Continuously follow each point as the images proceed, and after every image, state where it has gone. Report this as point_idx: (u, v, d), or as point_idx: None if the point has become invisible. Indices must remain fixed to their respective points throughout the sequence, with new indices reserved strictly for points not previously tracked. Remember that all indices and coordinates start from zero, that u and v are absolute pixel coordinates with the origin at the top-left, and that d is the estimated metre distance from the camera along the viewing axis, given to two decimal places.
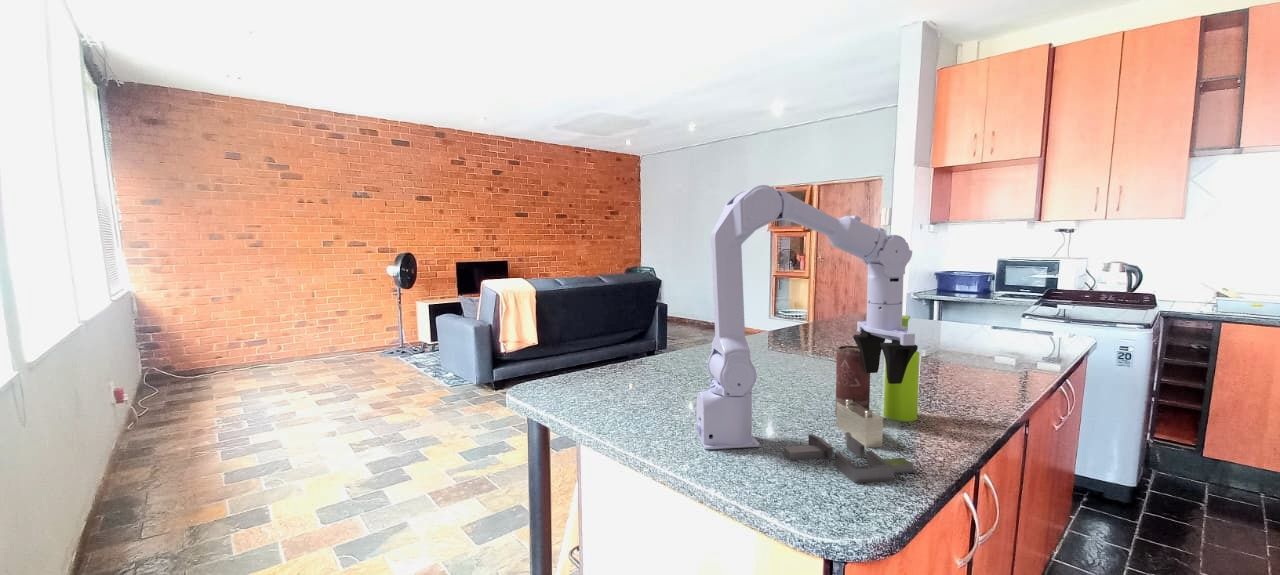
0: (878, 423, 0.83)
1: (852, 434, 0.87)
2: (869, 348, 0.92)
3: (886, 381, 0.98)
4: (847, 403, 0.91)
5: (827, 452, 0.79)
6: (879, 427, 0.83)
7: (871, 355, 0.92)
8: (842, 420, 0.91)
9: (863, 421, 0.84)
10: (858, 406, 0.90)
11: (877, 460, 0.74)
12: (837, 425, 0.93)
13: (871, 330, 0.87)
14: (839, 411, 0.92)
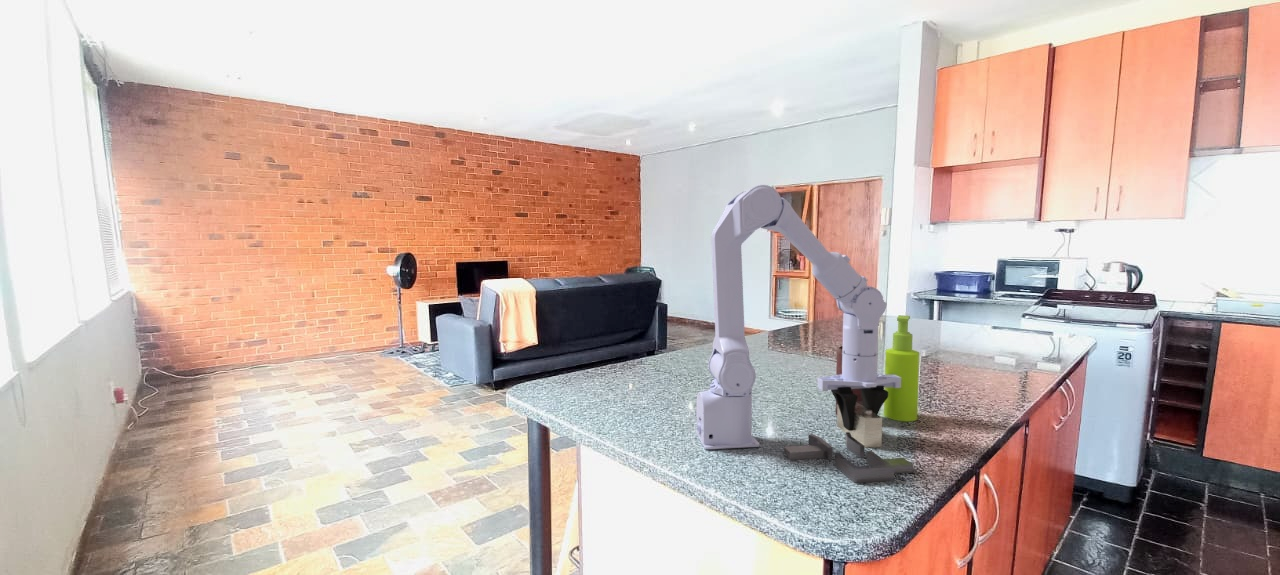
0: (877, 422, 0.83)
1: (852, 433, 0.88)
2: (866, 401, 0.89)
3: None
4: None
5: (827, 452, 0.79)
6: (878, 426, 0.83)
7: None
8: None
9: (862, 420, 0.84)
10: (858, 405, 0.90)
11: (877, 460, 0.74)
12: (838, 424, 0.93)
13: None
14: None
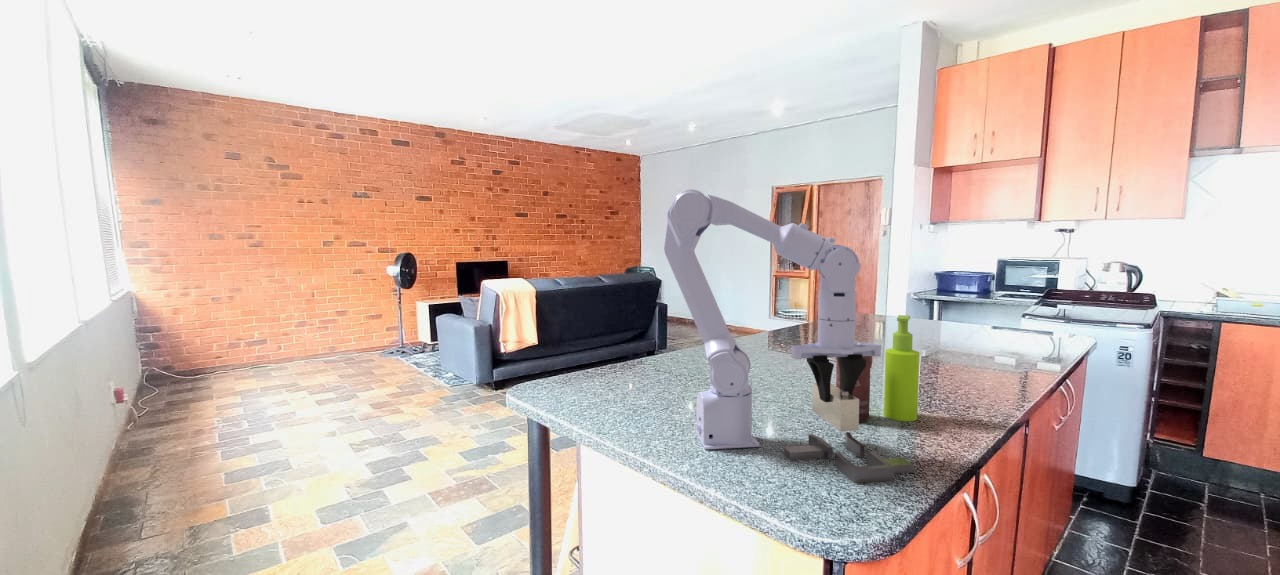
0: (854, 404, 0.78)
1: (827, 417, 0.82)
2: (843, 371, 0.83)
3: (886, 381, 0.98)
4: None
5: (827, 452, 0.79)
6: (855, 408, 0.78)
7: (844, 379, 0.82)
8: (818, 402, 0.85)
9: (838, 402, 0.78)
10: (834, 387, 0.84)
11: (877, 460, 0.74)
12: (813, 408, 0.87)
13: None
14: (815, 393, 0.86)
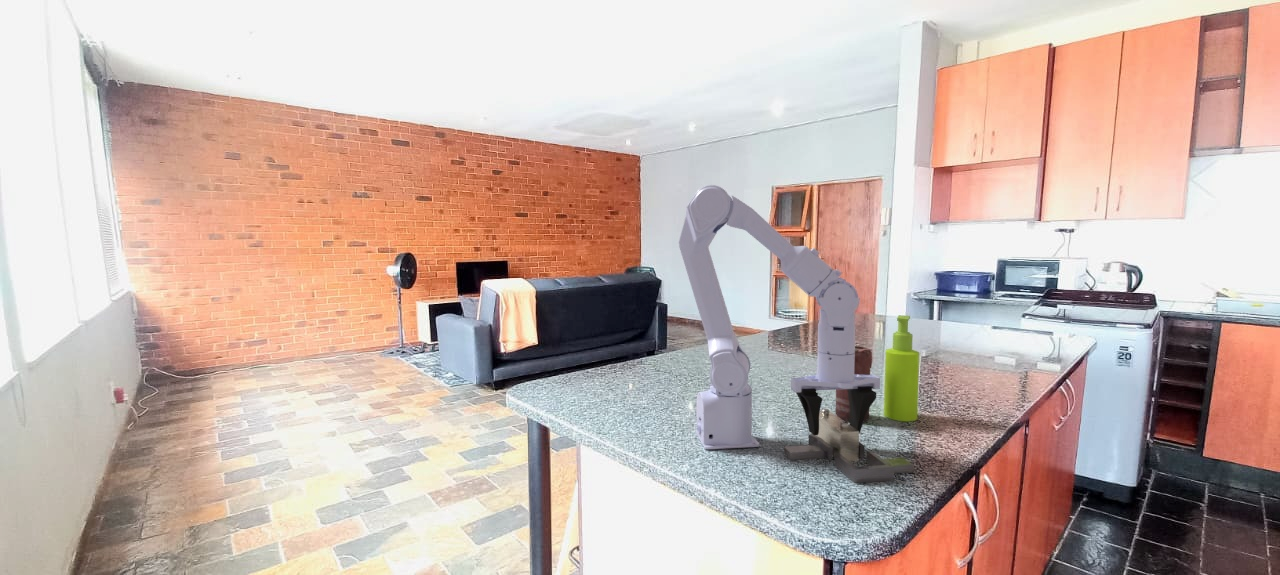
0: (854, 436, 0.78)
1: None
2: (853, 403, 0.83)
3: (886, 381, 0.98)
4: (823, 413, 0.85)
5: (827, 452, 0.79)
6: (855, 440, 0.78)
7: (854, 411, 0.83)
8: None
9: (838, 434, 0.78)
10: (834, 417, 0.84)
11: (877, 460, 0.74)
12: None
13: None
14: None
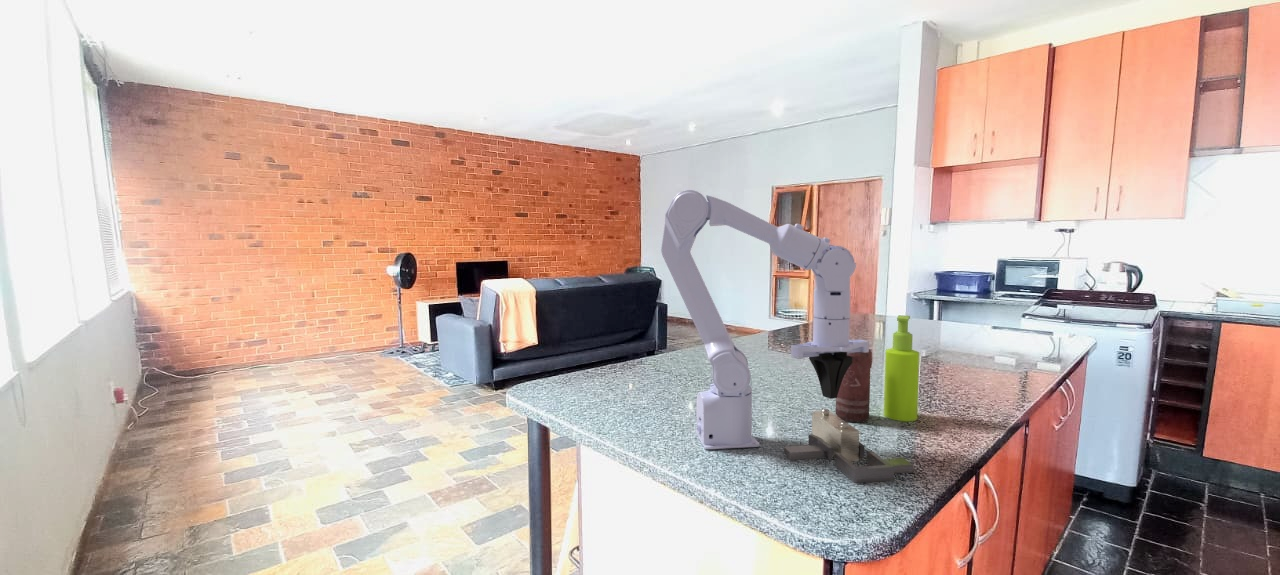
0: (854, 436, 0.78)
1: None
2: None
3: (886, 381, 0.98)
4: (823, 413, 0.85)
5: (827, 452, 0.79)
6: (855, 440, 0.78)
7: None
8: (818, 431, 0.85)
9: (838, 434, 0.78)
10: (834, 417, 0.84)
11: (877, 460, 0.74)
12: None
13: None
14: (815, 422, 0.86)
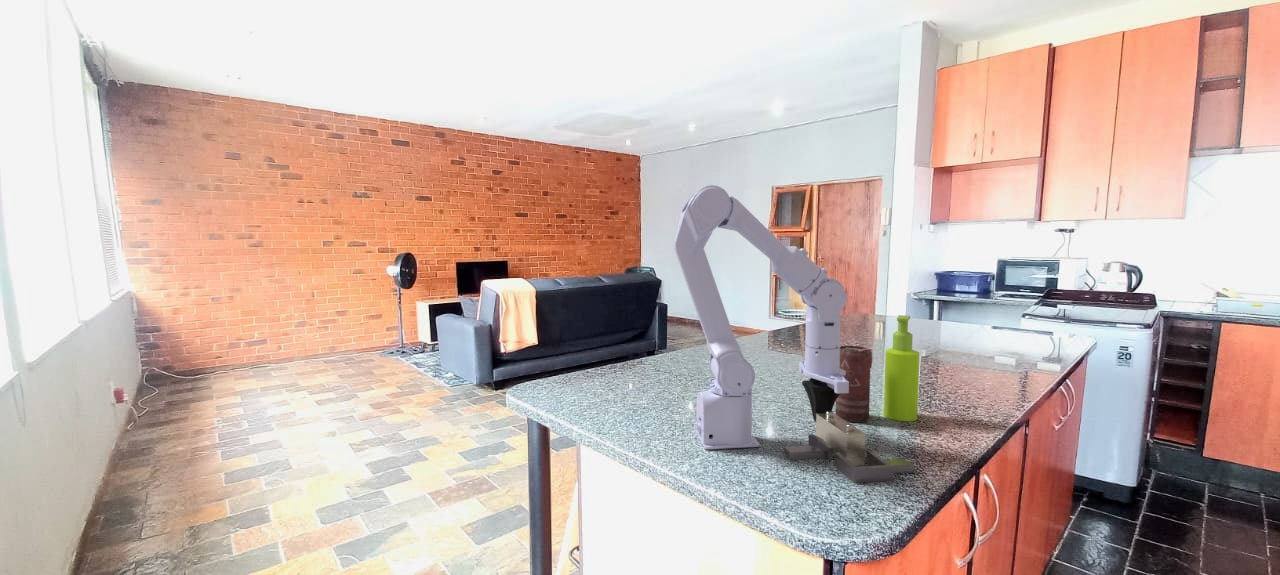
0: (860, 439, 0.76)
1: None
2: None
3: (886, 381, 0.98)
4: (827, 416, 0.84)
5: (827, 452, 0.79)
6: (861, 443, 0.76)
7: None
8: (822, 434, 0.84)
9: (844, 436, 0.77)
10: (839, 419, 0.83)
11: (877, 460, 0.74)
12: None
13: (808, 374, 0.85)
14: (819, 424, 0.85)
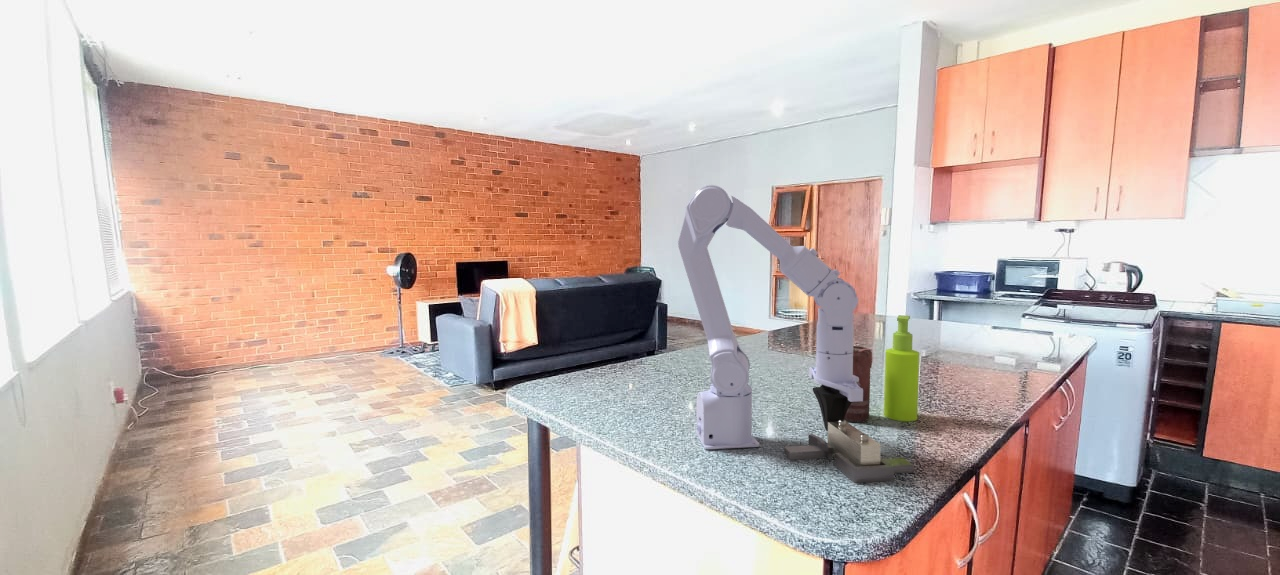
0: (875, 450, 0.72)
1: None
2: None
3: (886, 381, 0.98)
4: (840, 424, 0.80)
5: (827, 452, 0.79)
6: (876, 454, 0.72)
7: None
8: (834, 444, 0.80)
9: (858, 447, 0.72)
10: (852, 428, 0.78)
11: None
12: None
13: (820, 381, 0.81)
14: (831, 433, 0.81)
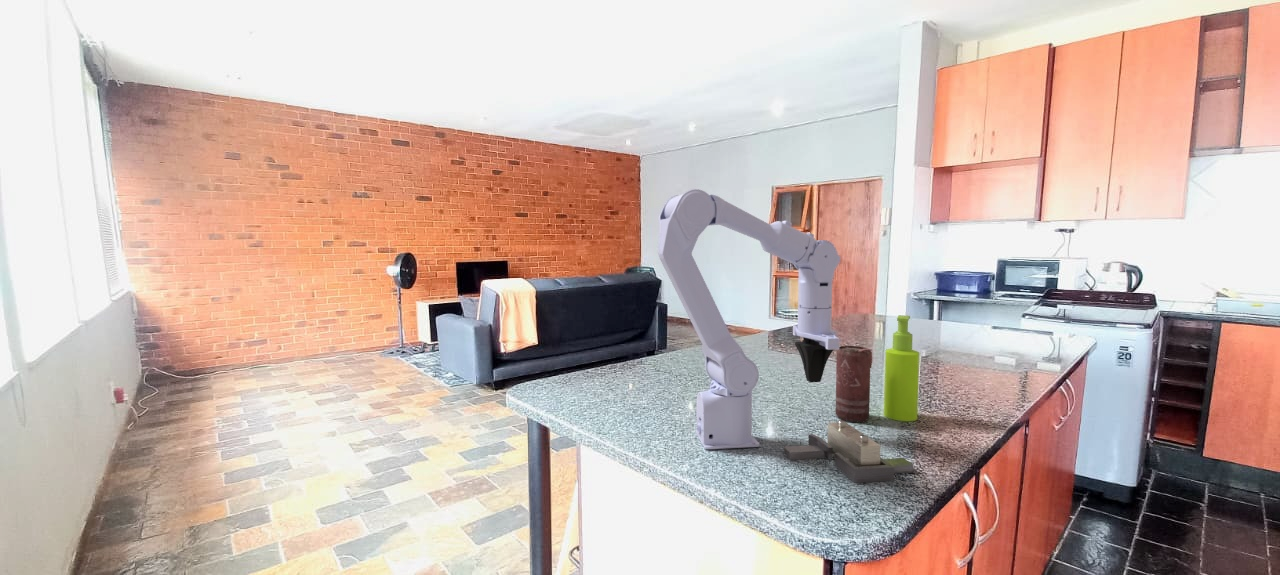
0: (875, 451, 0.72)
1: None
2: None
3: (886, 381, 0.98)
4: (840, 425, 0.80)
5: (827, 452, 0.79)
6: (876, 455, 0.72)
7: None
8: (834, 445, 0.80)
9: (858, 448, 0.72)
10: (852, 429, 0.78)
11: None
12: None
13: (801, 334, 0.88)
14: (831, 434, 0.81)
